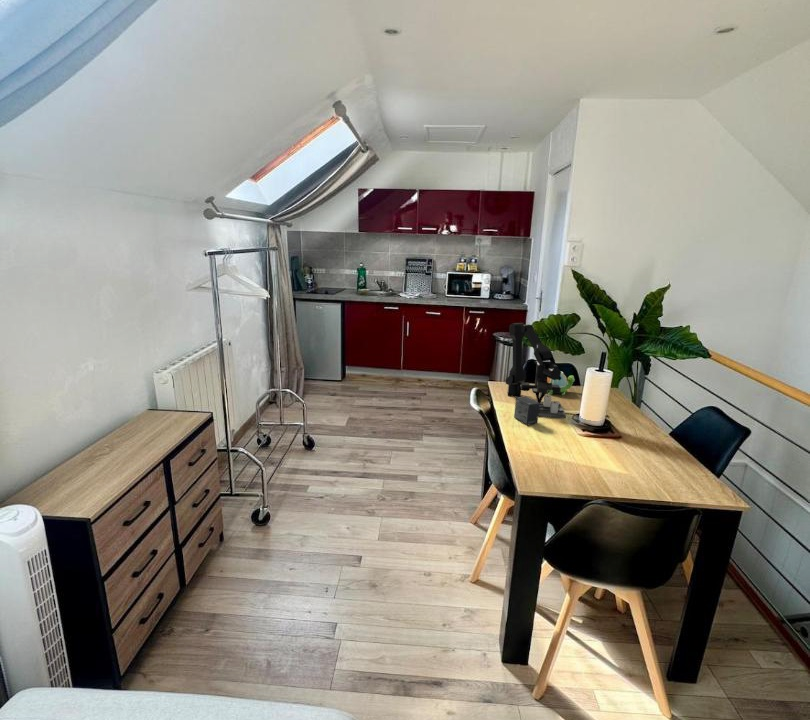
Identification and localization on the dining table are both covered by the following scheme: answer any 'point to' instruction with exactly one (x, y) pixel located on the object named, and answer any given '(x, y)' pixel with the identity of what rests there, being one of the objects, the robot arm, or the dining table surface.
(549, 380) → the turtle holder
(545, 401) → the fader
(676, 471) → the dining table surface
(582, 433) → the dining table surface
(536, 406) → the small box
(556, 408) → the fader
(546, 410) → the console
